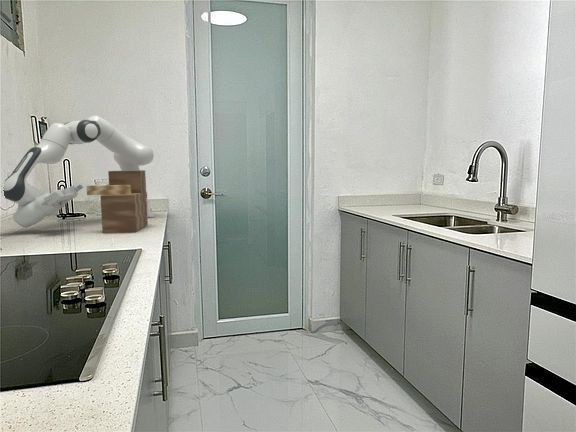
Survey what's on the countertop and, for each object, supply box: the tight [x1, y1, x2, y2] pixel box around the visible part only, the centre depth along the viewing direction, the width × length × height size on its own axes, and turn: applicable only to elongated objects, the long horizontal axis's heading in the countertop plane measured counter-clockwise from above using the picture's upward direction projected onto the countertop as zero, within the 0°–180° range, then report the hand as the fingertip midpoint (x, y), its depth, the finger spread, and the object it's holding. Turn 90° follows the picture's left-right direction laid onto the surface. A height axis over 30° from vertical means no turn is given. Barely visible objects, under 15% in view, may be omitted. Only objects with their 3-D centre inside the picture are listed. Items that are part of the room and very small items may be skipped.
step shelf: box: [99, 169, 149, 234], centre depth 212 cm, size 23×14×26 cm, turn 4°
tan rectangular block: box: [85, 184, 131, 196], centre depth 206 cm, size 18×3×4 cm, turn 94°
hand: (78, 186), depth 205 cm, fingers open, 8 cm apart
